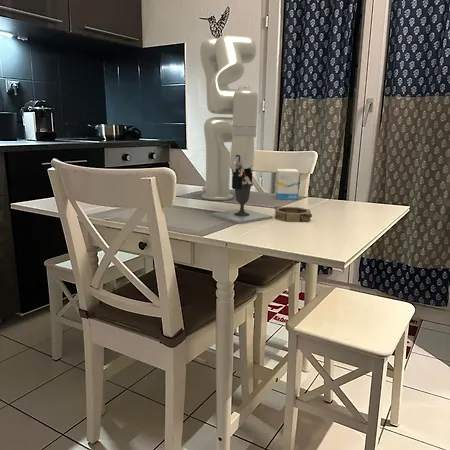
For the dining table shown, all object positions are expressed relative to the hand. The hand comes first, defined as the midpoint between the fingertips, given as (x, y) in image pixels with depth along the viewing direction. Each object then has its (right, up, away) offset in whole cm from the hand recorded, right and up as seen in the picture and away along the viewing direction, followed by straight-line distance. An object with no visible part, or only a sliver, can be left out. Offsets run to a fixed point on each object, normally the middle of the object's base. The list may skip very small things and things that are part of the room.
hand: (242, 186), depth 139 cm
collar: (+16, -10, +2) cm, 19 cm away
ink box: (+20, -1, +39) cm, 44 cm away
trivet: (0, -10, +2) cm, 10 cm away
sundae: (0, -9, +1) cm, 9 cm away
